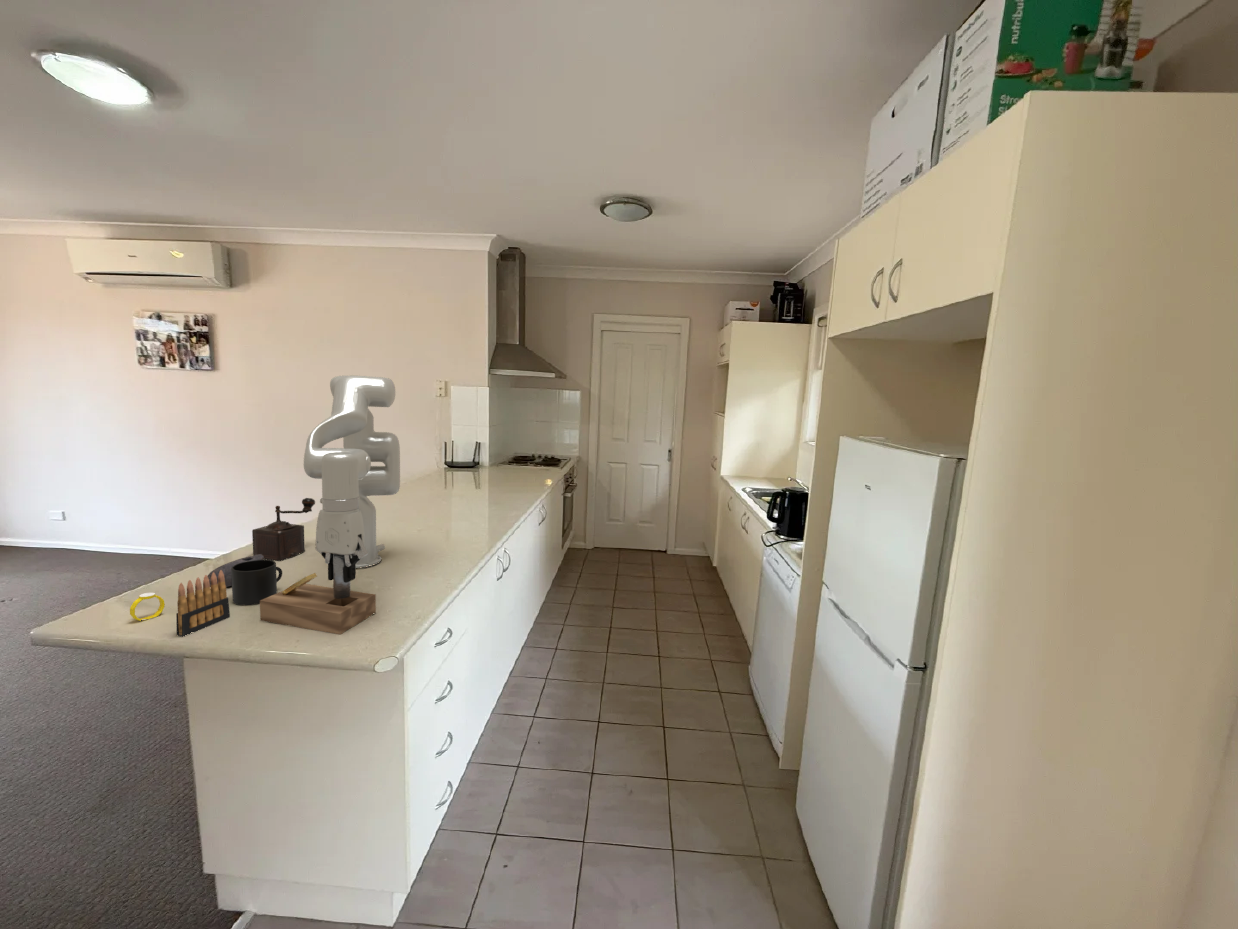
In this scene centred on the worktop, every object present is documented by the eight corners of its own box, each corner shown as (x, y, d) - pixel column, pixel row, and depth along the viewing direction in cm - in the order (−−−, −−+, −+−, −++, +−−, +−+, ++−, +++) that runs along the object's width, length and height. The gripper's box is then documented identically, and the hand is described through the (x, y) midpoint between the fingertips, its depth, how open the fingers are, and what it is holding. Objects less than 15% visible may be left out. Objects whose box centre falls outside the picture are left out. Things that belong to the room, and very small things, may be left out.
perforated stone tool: (211, 594, 132) (209, 569, 131) (200, 590, 134) (199, 565, 133) (271, 578, 145) (271, 555, 144) (261, 574, 147) (260, 551, 147)
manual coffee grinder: (281, 561, 158) (279, 506, 156) (251, 557, 160) (249, 503, 158) (319, 548, 173) (318, 497, 171) (291, 544, 175) (290, 494, 173)
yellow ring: (159, 614, 120) (160, 589, 120) (166, 616, 119) (167, 592, 119) (127, 622, 115) (128, 596, 114) (134, 624, 114) (135, 599, 113)
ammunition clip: (224, 616, 120) (221, 568, 119) (230, 617, 120) (228, 569, 119) (176, 635, 110) (173, 583, 109) (182, 637, 110) (179, 584, 108)
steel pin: (341, 592, 123) (340, 548, 121) (353, 594, 122) (353, 550, 120) (329, 597, 119) (329, 553, 118) (343, 599, 118) (342, 554, 117)
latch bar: (294, 590, 125) (292, 587, 125) (317, 576, 123) (315, 572, 123) (283, 595, 122) (281, 592, 122) (307, 580, 120) (304, 577, 120)
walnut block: (301, 601, 131) (301, 583, 130) (375, 613, 126) (375, 594, 126) (260, 620, 119) (259, 600, 118) (340, 634, 115) (339, 613, 114)
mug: (294, 592, 136) (293, 560, 135) (248, 608, 125) (247, 574, 124) (270, 586, 139) (269, 554, 138) (223, 601, 128) (222, 567, 127)
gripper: (297, 504, 116) (299, 580, 118) (360, 511, 112) (361, 589, 115) (323, 498, 123) (324, 570, 125) (382, 505, 120) (382, 578, 122)
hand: (341, 578), depth 120 cm, fingers closed on steel pin, 3 cm apart
